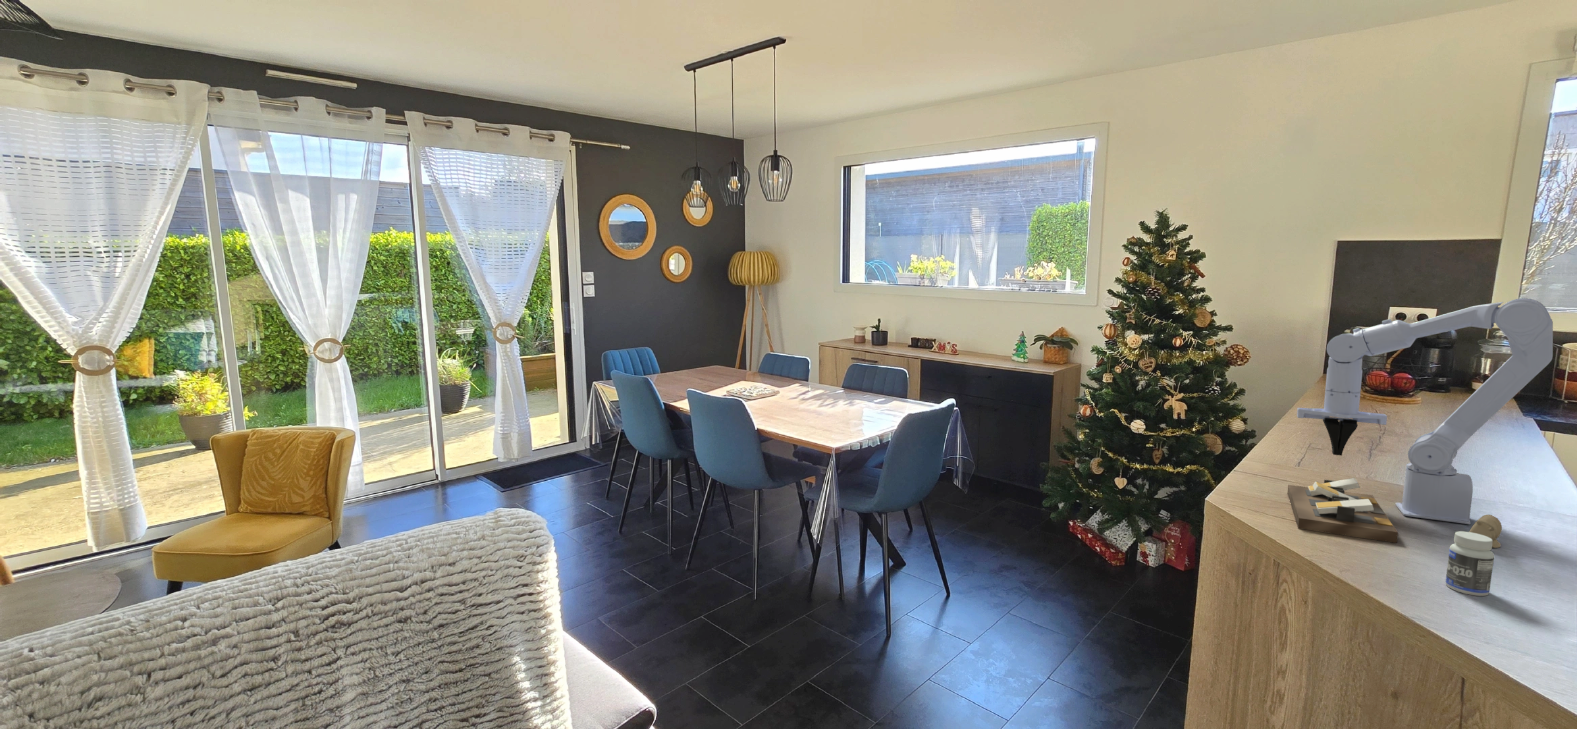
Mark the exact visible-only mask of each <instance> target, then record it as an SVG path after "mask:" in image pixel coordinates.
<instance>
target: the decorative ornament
mask: <svg viewBox="0 0 1577 729" xmlns="http://www.w3.org/2000/svg"><path fill="white" fill-rule="evenodd" d="M1502 526H1503V525H1502V522H1501V521H1500V520H1499V518H1498V517H1496V516H1495V515H1492V514H1484V515H1482V516H1480V517H1479V518H1478V519H1477V520H1476V521H1475V523H1474V524H1473V525H1472V526H1471V528H1470V530H1469V531H1468V532H1472V533H1477V534H1480V535H1484V536H1487V537H1489V538H1491V539H1492V540H1493V542H1492V549H1493V548H1494V549H1495V548H1496V549H1500V548H1501V545H1502V544H1501V543H1500V542H1499V541H1498V538H1499V537H1500V536H1501V533H1502V530H1503V527H1502Z"/></svg>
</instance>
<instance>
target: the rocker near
mask: <svg viewBox="0 0 1577 729" xmlns="http://www.w3.org/2000/svg"><path fill="white" fill-rule="evenodd" d="M1338 506H1343V507H1351V508H1355V512H1356V511H1371V510H1374V509H1373V505H1372V504H1371V502H1370V500H1369V499H1360V500H1346V501H1332V502H1318V503H1316V507H1317V510H1318V512H1319V514H1325V513H1337V507H1338Z"/></svg>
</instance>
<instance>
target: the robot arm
mask: <svg viewBox="0 0 1577 729" xmlns="http://www.w3.org/2000/svg"><path fill="white" fill-rule="evenodd" d="M1503 303H1504V301H1500V302H1498V301H1497V302H1491V303H1486V304H1478V305H1473V306H1469V307H1466V308H1462V309H1459V310H1455V311H1452V312H1447V313H1444V314H1440V315H1437V316H1433V317H1430V318H1425V319H1423V320H1419V321H1416V322H1411V323H1409V322H1407V321H1403V320H1402V319H1401V320H1400V319H1396V320H1393V321H1392V319H1391V318H1389V319H1384V320H1382V321H1381V323H1380V324H1377V325H1373V326H1370V327H1369V326H1368V327H1365V328H1363V329H1362V328H1361V329H1360V327H1358V328H1354V329H1352V332H1353V333H1351V332H1350V333H1348V332H1347V333H1342V334H1338V335H1336V336H1334V337H1332V338H1331V339H1330V340H1329V341H1328V343H1327V345H1326V353H1327V354H1328V356H1329V357H1328V361H1327V362H1328V367H1327V369H1326V377H1325V379H1326V380H1325V390H1324V391H1325V392H1324V401H1323V402H1324V403H1323V408H1318V407H1317V408H1315V407H1313V408H1310V407H1308V408H1307V407H1297V409H1296V417H1297V419H1315V420H1316V419H1317V420H1322V422H1323V424H1324V426H1325V428H1326V431H1327V433H1328V436H1329V440H1330V444H1331V454H1333V456H1340V457H1341V456H1342V455H1343V451H1344V449H1345V448H1346V444H1347V443H1348V441H1349V440H1350V437H1351V436H1352V435H1353V433H1354V432H1356V430H1357V428H1358V423H1365V424H1379V425H1382V426H1383V425H1384V426H1385V425H1387V422H1388V415H1387V414H1385V413H1377V412H1368V411H1360V402H1361V400H1360V399H1361V390H1362V379H1363V369H1362V368H1363V357H1364V356H1368V357H1373V356H1374V357H1375V356H1378V355H1382V354H1386V353H1390V352H1394V351H1399V350H1404V349H1407V348H1411V346H1412V345H1413V344H1414V343H1415V341H1416V340H1417V339H1418V338H1424V337H1428V336H1433V335H1436V334H1441V333H1446V332H1450V331H1454V330H1455V331H1456V330H1459V329H1464V328H1468V327H1469V328H1470V327H1473V328H1479V329H1488V330H1492V329H1493V328H1494V327H1495V324H1496V326H1497V328H1498V329H1499V330H1500V331H1501V332H1502V333H1503V335H1504V336H1505V337H1506V338H1507V341H1508V345H1509V349H1510V351H1511V354H1512V355H1511V356H1510V357H1509V358H1508V359H1507V360H1506V361H1505V362H1504V363H1503V364H1502V365H1501V366H1500V367H1498V369H1496V371H1494V372H1493V373H1492V374H1491V375H1490V377H1488V379H1486V380H1485V381H1484V382H1483V383H1482V384H1481V385H1480V386H1479V387H1478V388H1477V389H1475V391H1474V392H1473V393H1472V394H1471V395H1470V396H1469V397H1468V398H1467V399H1465V401H1463V402H1462V404H1461V405H1459V407H1458V408H1457V409H1456V410H1454V412H1452V413H1451V415H1449V417H1447V418H1446V419H1445V420H1444V421H1443V422H1442V423H1441V424H1439V425H1438V427H1436V429H1434V430H1433V431H1431V432H1428V433H1424V434H1423V435H1420V436H1419V437H1418V438H1417V439H1416V440H1415V441H1414V443H1413V444H1412V445H1411V446H1410V448H1409V449H1408V452H1407V458H1408V460H1409V463H1406V464H1405V473H1404V482H1403V493H1402V502H1395V506H1396V507H1397V508H1398V509H1399V511H1400V513H1401V514H1402V515H1403V516H1406V517H1413V518H1418V519H1420V518H1421V519H1426V520H1427V519H1428V520H1434V521H1441V522H1442V521H1443V522H1450V523H1458V524H1466V525H1471V521H1470V517H1471V509H1472V508H1471V507H1472V500H1473V492H1474V488H1473V487H1474V486H1473V485H1474V484H1473V480H1472V478H1471V477H1472V476H1470V475H1469V474H1467V473H1458V470H1457V469H1456V468H1455V467H1454V466H1453V461H1454V459H1455V458H1456V456H1457V454H1458V451H1459V449H1461V447H1463V446H1464V445H1465V444H1466V442H1467V441H1468V440H1469V439H1470V438H1471V437H1472V436H1473V435H1475V433H1476V432H1477V431H1479V430H1480V428H1482V427H1483V426H1484V425H1485V424H1486V423H1487V422H1488V421H1490V419H1491V418H1493V416H1495V415H1496V414H1497V413H1498V412H1499V411H1500V410H1501V409H1502V408H1503V407H1505V405H1506V404H1508V402H1510V400H1512V399H1513V398H1514V397H1515V396H1516V395H1517V394H1518V393H1519V392H1520V391H1521V390H1523V388H1525V386H1527V384H1529V383H1530V382H1531V381H1532V380H1533V379H1534V378H1535V377H1536V376H1537V375H1538V374H1540V372H1542V371H1543V370H1544V369H1545V368H1546V367H1547V366H1548V365H1549V364H1550V363H1551V362H1552V360H1553V355H1554V353H1553V351H1554V350H1553V349H1554V348H1553V347H1554V343H1553V342H1554V340H1553V339H1554V330H1553V329H1554V323H1553V322H1554V321H1553V319H1552V318H1551V315H1550V313H1549V310H1548V309H1547V307H1546V306H1545V305H1544V304H1543V303H1541V302H1540V301H1538V300H1535V299H1534V298H1533V299H1532V298H1527V297H1526V298H1525V297H1524V298H1523V297H1521V298H1520V297H1519V298H1515V299H1512V300H1509V301H1507V302H1505V303H1504V304H1503ZM1499 306H1500V307H1499Z"/></svg>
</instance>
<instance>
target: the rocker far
mask: <svg viewBox="0 0 1577 729" xmlns="http://www.w3.org/2000/svg"><path fill="white" fill-rule="evenodd" d="M1333 481H1334V482H1328V483H1324V482H1322V484H1323V485H1325V486H1331V487H1340V488H1343V490H1344V491H1348V490H1355V489H1360V487H1361V486H1360V485H1359V482H1358V480H1357V479H1356V478H1355V477H1352V478H1345V479H1340V480H1333ZM1307 487H1308V488H1309V490H1310V493H1311V495H1312V496H1314V495H1320V494H1321V493H1319V492H1317V491H1315V490H1314V488H1313V484H1311V485H1308V486H1307Z"/></svg>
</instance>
